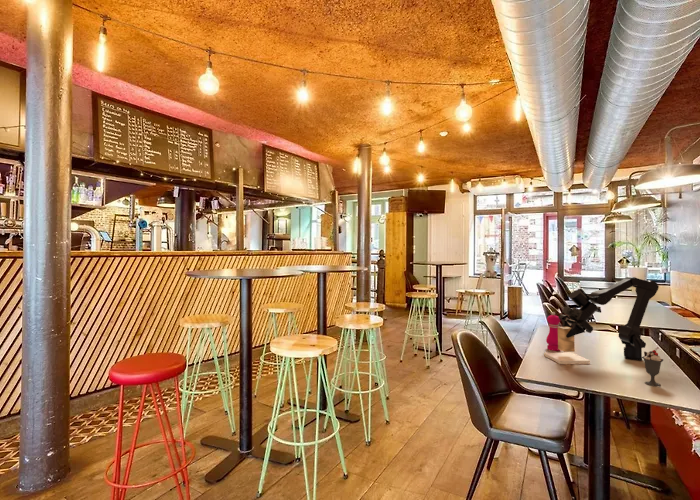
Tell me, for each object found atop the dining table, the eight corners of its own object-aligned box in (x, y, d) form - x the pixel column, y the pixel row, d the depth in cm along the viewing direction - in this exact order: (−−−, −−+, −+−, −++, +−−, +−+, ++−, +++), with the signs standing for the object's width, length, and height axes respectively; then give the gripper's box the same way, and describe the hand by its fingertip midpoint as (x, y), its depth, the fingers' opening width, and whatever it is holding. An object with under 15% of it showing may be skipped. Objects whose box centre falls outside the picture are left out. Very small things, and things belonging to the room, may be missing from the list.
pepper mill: (563, 351, 193) (563, 313, 194) (548, 350, 195) (548, 313, 195) (558, 348, 201) (558, 311, 201) (544, 347, 202) (544, 310, 202)
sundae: (665, 388, 140) (665, 349, 140) (643, 385, 144) (642, 346, 144) (662, 383, 146) (661, 345, 146) (640, 380, 149) (640, 343, 150)
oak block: (568, 348, 182) (567, 326, 182) (574, 351, 177) (574, 328, 177) (558, 349, 181) (557, 326, 181) (564, 351, 176) (563, 328, 176)
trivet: (571, 355, 186) (571, 352, 186) (590, 363, 172) (589, 360, 172) (544, 355, 186) (544, 352, 186) (560, 364, 172) (560, 360, 172)
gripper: (561, 298, 189) (541, 320, 188) (586, 303, 170) (563, 328, 170) (577, 313, 189) (556, 335, 188) (603, 320, 170) (580, 344, 170)
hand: (563, 335), depth 179 cm, fingers closed on oak block, 5 cm apart
